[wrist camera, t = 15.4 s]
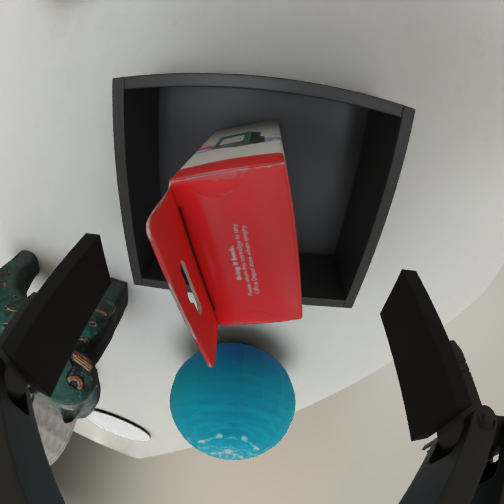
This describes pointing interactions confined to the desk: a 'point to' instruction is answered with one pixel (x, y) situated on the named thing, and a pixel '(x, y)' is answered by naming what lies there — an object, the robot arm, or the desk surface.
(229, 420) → the decorative orb
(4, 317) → the ceramic cat
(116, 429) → the plate
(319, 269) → the basket
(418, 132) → the desk surface
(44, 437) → the vase
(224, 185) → the ink box
